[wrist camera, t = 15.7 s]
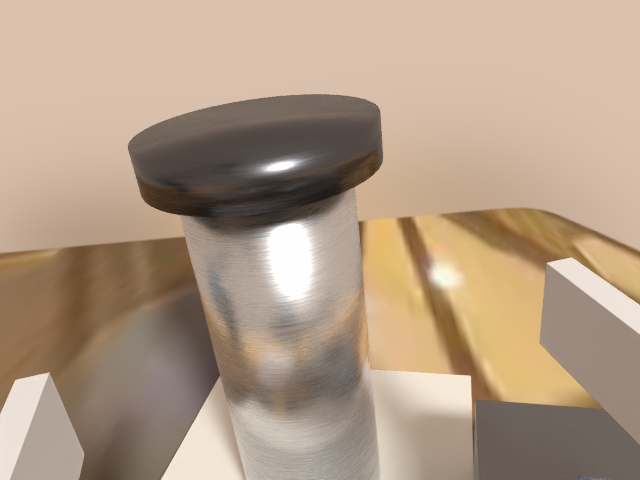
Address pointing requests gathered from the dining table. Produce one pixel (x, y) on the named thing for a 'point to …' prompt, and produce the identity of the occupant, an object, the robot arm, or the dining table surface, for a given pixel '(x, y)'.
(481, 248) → the dining table surface
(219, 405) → the pad
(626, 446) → the housing
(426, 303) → the dining table surface
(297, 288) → the flanged shaft
